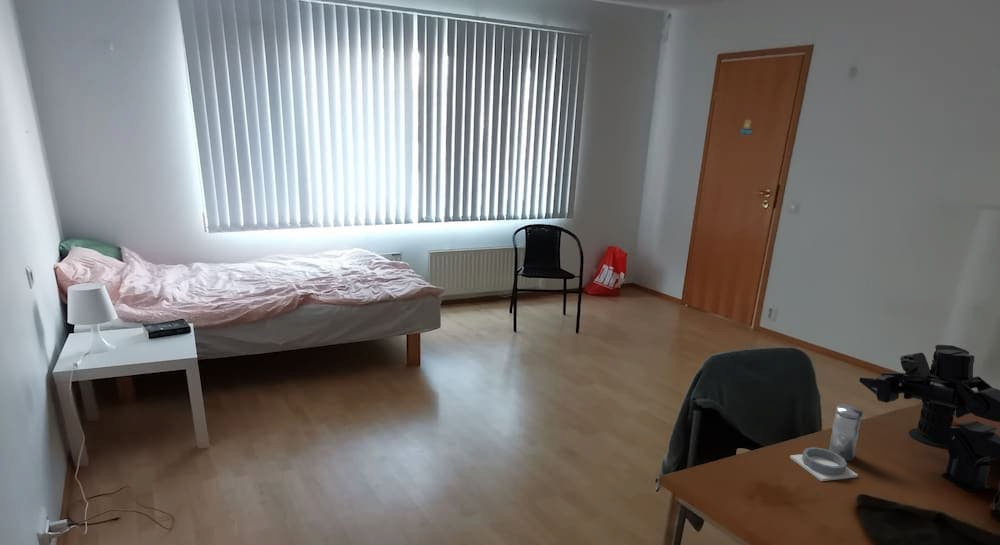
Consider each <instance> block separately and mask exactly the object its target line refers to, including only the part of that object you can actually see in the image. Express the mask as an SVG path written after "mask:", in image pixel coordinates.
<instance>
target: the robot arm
mask: <svg viewBox="0 0 1000 545" xmlns="http://www.w3.org/2000/svg"><path fill="white" fill-rule="evenodd" d="M899 359H900V364H901V368H902V371H903V372H882V373H881V375H877V377H873V378H872V377H859V383H861V384H862V385H863V386H864V387H865V388H867V389H869V390H870V391H871V392H872V393H873V394H874V395H875V396H876V399H877V401H879V402H882V403H886V404H887V403H891V402H895V401H897V400H898V399H899V397H900V394H903V399H905V400H910V399H915V400H919V401H921V404H923V403H926V404H928V403H936V404H940V405H945V406H949V407H953V408H956V410H955V418H957V419H959V418H963V417H967V416H968V415H970V414H972V415H973V416H976V417H979V418H982V419H985V420H988V421H992V422H996V423H997V422H998V423H1000V389H999V388H994V387H993V386H991V385H990V384H989V383H987V382H986V380H984V379H982V378H981V376H979V375H978V376H974V363H975V356H974V354H973V355H972V354H967V353H964V352H962V351H957V350H937V372H936V374H937V375H938V377H939V378H942V380H945V381H942V380H939V378H938V377H937V376H934V373H933V372H932V371H931V367H930V366H929V363H928V360H927V357H926V355H925V354H924V352H918V353H917V352H916V353H911V354H910V353H909V354H905V355H901V356H900V357H899ZM947 381H951V382H947ZM952 382H957V383H952ZM975 388H976V390H973V389H975ZM996 431H997V427H996V426H993V425H987V424H983V423H981V422H980V421H979V420H975V421H966V422H962V423H959V424H955V425H952V426H951V427H949V428H947V429H946V430H945V432H944V439H945V442H946V443H947V446H948V449H947V452H948V459H947V463H946V464H947V465H946V467H945V472H941V476H942V477H943V478H945V479H946V480H948V481H950V482H952V483H954V484H955V485H957V486H959V487H961V489H965V490H966V491H967V492H973V491H974V492H975V491H981V490H990V489H991V485H989V484H987V481H988V476H989V473H990V470H991V464H990V463H988V462H989V461H993V460H994V459H997V460H1000V436H999V435H998V434H997V433H996Z"/></svg>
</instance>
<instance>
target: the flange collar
mask: <svg viewBox="0 0 1000 545" xmlns="http://www.w3.org/2000/svg"><path fill="white" fill-rule="evenodd" d="M789 458H790V459H791V460H792V461H794V462H795V463H797V464H798V465H799V466H800V467H802V468H803V469H805V470H806V471H807V472H808V473H810V474H811V475H812V476H813V477H815V478H816V479H818V480H819V481H820V482H825V481H835V480H845V479H846V480H847V479H853V478H858V477H859V474H858V473H856V472H854V471H853V470H851V469H850V468H849V467H847V464H848V463H847V461H845V459H844V458H843V457H841V456H840V455H838V454H837V453H834V452H832V451H829V449H825V448H820V447H813V446H812V447H806V448H805V449H804V450H803V451H802V454H801V453H800V454H793V455H792V454H791V455H789Z"/></svg>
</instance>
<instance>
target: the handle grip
mask: <svg viewBox="0 0 1000 545" xmlns="http://www.w3.org/2000/svg"><path fill="white" fill-rule="evenodd" d="M937 350H957V351H962V352H964V353H967V354H968V355H970V352H969V351H968V350H967V349H964V348H961V347H958V346H955V345H950V344H936V345H935V351H934V352H933V355H932V356H933V357H932V358H933V359H932V360H931V362H932V363H931V365H930V370H931V371H932V372H933V373H934V376H937V377H938V375H937V374H936V372H937ZM938 378H939V377H938ZM939 380H942V378H939ZM942 381H945V380H942ZM947 382H951V381H947ZM952 383H957V382H952ZM954 416H956V408H953V407H949V406H945V405H940V404H936V403H928V404H926V403H922V405H921V411H920V416H919V420H918V424H917V428H911V429H910V430H909V431H908V435H909V436H910V437H911V438H913V439H914V440H915V441H917V442H919V443H921V444H924V445H927V446H930V447H933V448H939V449H946V448H948V446H947V443H946V442H945V439H944V432H945V430H946V429H947V428H949V427H951V426H953V422H954ZM946 450H947V449H946Z"/></svg>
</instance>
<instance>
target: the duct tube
mask: <svg viewBox="0 0 1000 545" xmlns="http://www.w3.org/2000/svg"><path fill="white" fill-rule="evenodd" d="M862 417H863V411H862V409H860V408H859V407H858V406H857V407H856V406H854V405H851V404H845V403H844V404H843V403H840V404H837V405H836V407H835V415H834V420H833V425H832V431H831V436H830V442H829V445H828V446H829V447H828V450H829V451H832V452H834V453H837V454H838V455H840V456H841V457H843V458H844V459H845V461H846V462H851V461H853V460H854V457H855V452H856V447H857V442H858V438H859V433H860V427H861V423H862V422H861V421H862Z"/></svg>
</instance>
